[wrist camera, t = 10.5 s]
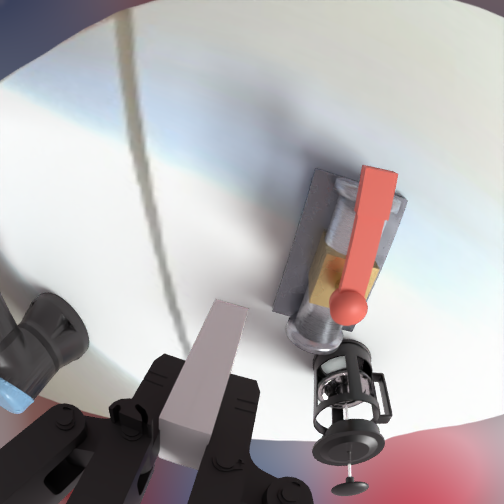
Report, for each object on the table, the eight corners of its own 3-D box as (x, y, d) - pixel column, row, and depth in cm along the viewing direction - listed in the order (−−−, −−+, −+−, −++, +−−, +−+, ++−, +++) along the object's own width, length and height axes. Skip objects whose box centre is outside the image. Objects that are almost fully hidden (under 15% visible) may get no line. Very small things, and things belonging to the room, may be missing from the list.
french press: (304, 378, 48) (294, 503, 27) (314, 335, 44) (312, 474, 24) (370, 383, 47) (385, 502, 26) (388, 342, 43) (419, 471, 22)
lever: (359, 318, 30) (361, 327, 28) (325, 313, 30) (326, 323, 29) (397, 172, 24) (402, 175, 22) (357, 163, 24) (361, 166, 23)
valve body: (351, 327, 43) (359, 378, 33) (272, 307, 44) (263, 356, 34) (405, 198, 35) (437, 224, 25) (315, 168, 35) (320, 183, 26)
